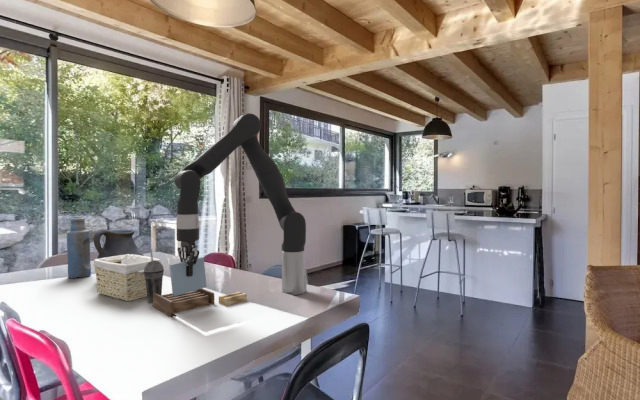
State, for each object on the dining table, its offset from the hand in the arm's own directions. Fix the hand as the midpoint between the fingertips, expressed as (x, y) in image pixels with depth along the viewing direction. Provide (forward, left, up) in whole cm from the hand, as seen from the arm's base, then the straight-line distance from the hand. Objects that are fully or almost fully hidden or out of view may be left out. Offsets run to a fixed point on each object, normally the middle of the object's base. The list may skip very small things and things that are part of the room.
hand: (188, 275), depth 133 cm
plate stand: (-14, +6, -12) cm, 19 cm away
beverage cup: (+5, -19, -12) cm, 23 cm away
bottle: (+16, -90, -12) cm, 93 cm away
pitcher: (+4, -67, -12) cm, 69 cm away
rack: (0, -4, -12) cm, 13 cm away
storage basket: (+9, -38, -12) cm, 41 cm away
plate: (-1, 0, -6) cm, 6 cm away
